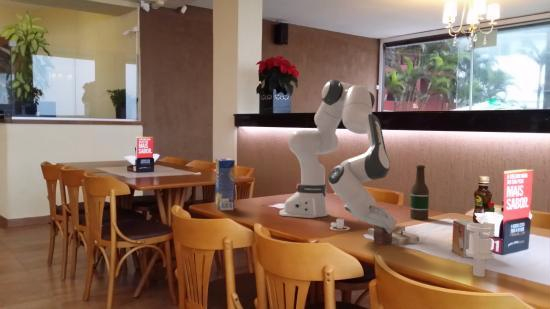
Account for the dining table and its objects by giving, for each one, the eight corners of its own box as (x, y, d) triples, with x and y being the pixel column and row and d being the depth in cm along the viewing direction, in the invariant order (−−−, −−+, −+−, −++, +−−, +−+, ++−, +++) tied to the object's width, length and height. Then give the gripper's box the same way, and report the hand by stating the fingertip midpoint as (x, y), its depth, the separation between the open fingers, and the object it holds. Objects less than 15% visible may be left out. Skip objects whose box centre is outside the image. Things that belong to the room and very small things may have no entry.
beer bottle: (429, 220, 209) (430, 166, 207) (410, 219, 210) (412, 165, 209) (427, 217, 216) (428, 164, 215) (409, 216, 218) (410, 164, 217)
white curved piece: (329, 226, 196) (329, 216, 196) (348, 226, 196) (348, 217, 196) (330, 231, 187) (330, 221, 187) (351, 231, 187) (351, 221, 187)
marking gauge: (381, 244, 165) (382, 219, 165) (373, 241, 169) (374, 217, 169) (407, 241, 170) (408, 217, 170) (399, 238, 174) (399, 215, 174)
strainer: (487, 280, 127) (489, 225, 126) (461, 275, 132) (463, 221, 131) (496, 274, 132) (498, 221, 131) (470, 269, 137) (472, 218, 136)
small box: (451, 251, 157) (452, 219, 157) (467, 251, 158) (468, 219, 157) (463, 258, 149) (464, 225, 149) (480, 257, 150) (481, 224, 149)
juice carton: (234, 209, 230) (234, 160, 229) (219, 210, 228) (219, 160, 227) (229, 205, 242) (230, 158, 240) (215, 206, 240) (215, 158, 238)
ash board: (399, 244, 165) (399, 238, 165) (368, 233, 181) (368, 228, 181) (419, 242, 169) (419, 236, 169) (386, 231, 185) (387, 226, 185)
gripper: (386, 202, 155) (409, 229, 160) (351, 193, 173) (372, 218, 178) (375, 216, 153) (398, 243, 158) (340, 206, 172) (362, 230, 176)
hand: (384, 230), depth 168 cm, fingers closed on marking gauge, 4 cm apart
